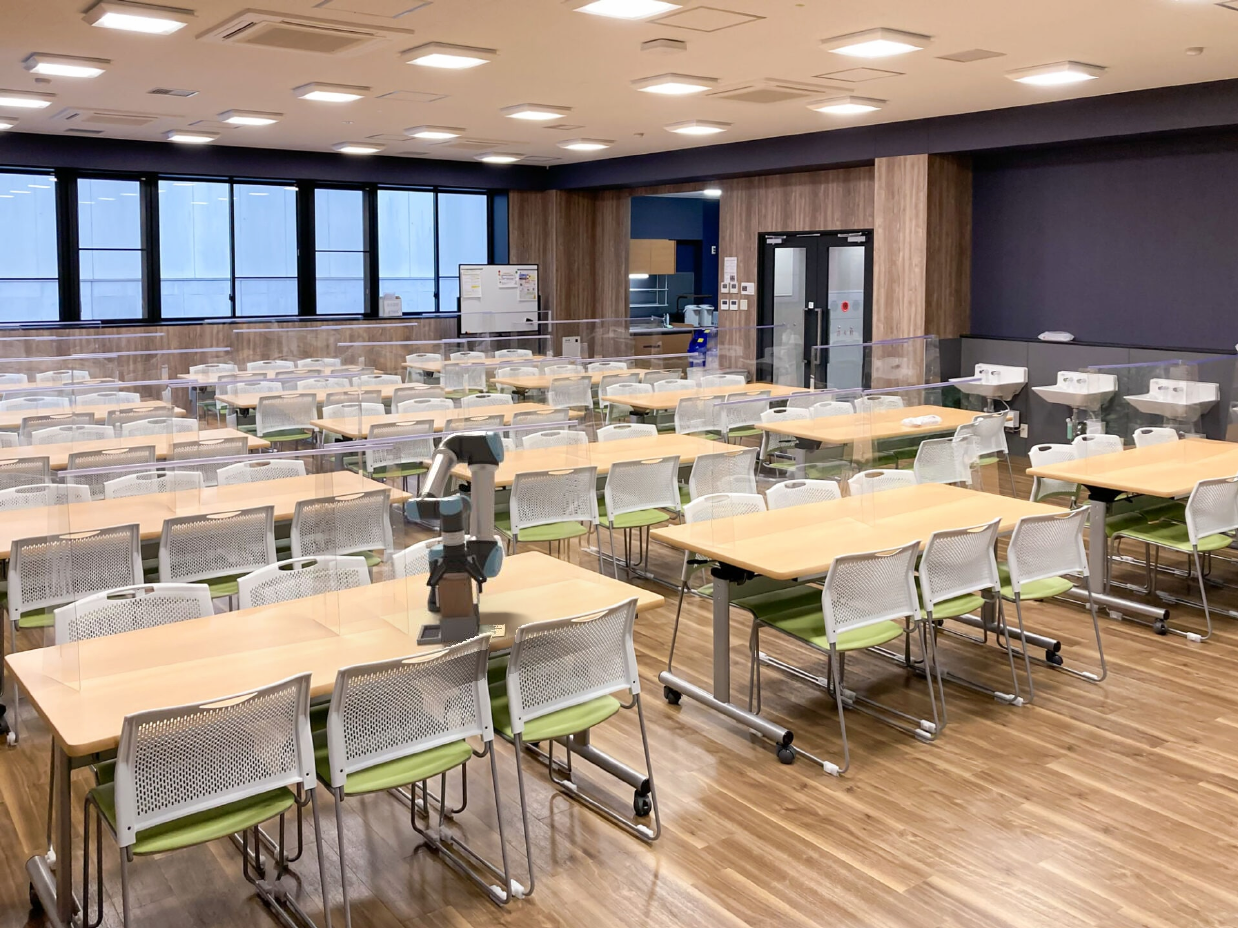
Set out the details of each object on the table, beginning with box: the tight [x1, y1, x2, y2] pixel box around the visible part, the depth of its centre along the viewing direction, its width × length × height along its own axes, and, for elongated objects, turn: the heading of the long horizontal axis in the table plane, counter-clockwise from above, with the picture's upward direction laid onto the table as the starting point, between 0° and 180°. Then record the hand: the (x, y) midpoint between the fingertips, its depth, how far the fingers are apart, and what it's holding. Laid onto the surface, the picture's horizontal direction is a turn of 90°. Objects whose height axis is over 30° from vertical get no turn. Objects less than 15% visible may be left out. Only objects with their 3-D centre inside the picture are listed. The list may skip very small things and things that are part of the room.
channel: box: [438, 602, 481, 643], centre depth 396 cm, size 16×12×8 cm
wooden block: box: [439, 573, 474, 619], centre depth 396 cm, size 10×10×20 cm
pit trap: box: [416, 623, 442, 645], centre depth 396 cm, size 16×8×2 cm, turn 4°
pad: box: [477, 623, 502, 636], centre depth 398 cm, size 13×9×1 cm
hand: (458, 604), depth 395 cm, fingers open, 13 cm apart
